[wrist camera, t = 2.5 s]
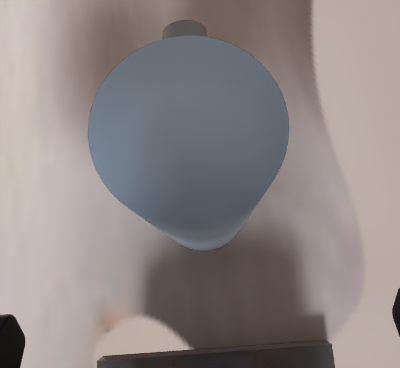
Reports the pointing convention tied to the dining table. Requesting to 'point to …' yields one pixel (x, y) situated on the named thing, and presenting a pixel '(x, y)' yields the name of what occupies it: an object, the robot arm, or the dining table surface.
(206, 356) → the open square bin
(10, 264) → the dining table surface
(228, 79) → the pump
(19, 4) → the dining table surface
